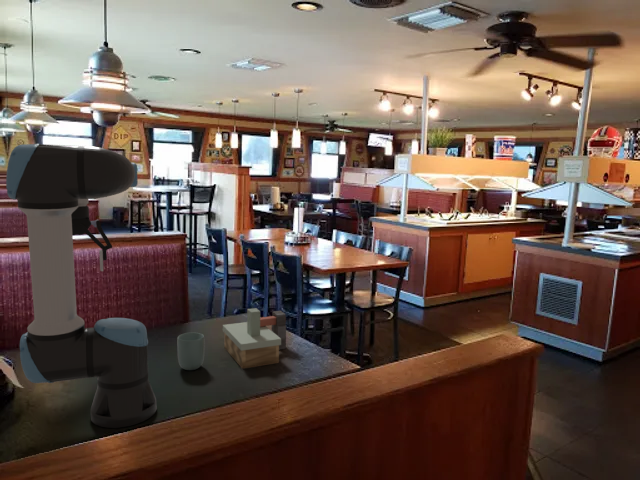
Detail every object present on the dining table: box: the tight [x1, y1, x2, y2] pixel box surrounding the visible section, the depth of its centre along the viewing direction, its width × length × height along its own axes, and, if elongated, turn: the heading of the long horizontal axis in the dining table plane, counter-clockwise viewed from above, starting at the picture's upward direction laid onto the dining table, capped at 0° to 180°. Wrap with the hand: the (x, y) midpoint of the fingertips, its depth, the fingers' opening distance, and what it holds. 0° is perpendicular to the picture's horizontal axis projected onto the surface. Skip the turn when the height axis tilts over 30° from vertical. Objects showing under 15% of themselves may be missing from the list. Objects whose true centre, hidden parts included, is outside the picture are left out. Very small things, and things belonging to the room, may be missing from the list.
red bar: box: [260, 315, 287, 327], centre depth 167 cm, size 2×12×2 cm, turn 116°
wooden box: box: [223, 310, 287, 370], centre depth 162 cm, size 20×19×12 cm
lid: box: [222, 307, 281, 351], centre depth 160 cm, size 21×13×12 cm, turn 27°
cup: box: [176, 332, 205, 371], centre depth 149 cm, size 8×8×10 cm
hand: (78, 272), depth 155 cm, fingers open, 13 cm apart
